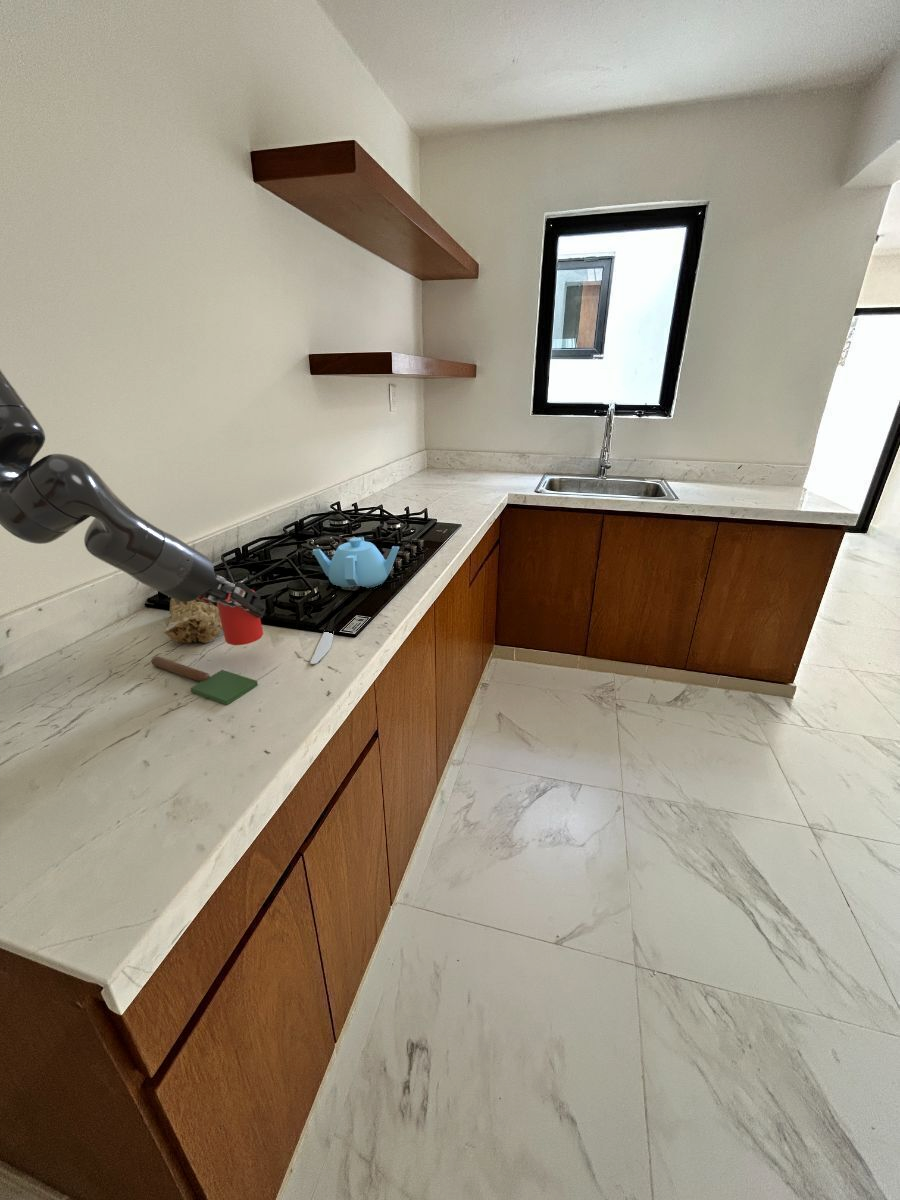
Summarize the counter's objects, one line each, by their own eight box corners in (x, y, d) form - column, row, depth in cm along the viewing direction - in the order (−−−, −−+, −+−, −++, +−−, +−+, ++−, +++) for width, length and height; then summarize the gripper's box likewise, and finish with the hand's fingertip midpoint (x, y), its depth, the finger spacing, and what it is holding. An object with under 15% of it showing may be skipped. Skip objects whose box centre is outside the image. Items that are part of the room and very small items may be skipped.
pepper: (217, 640, 83) (205, 592, 79) (246, 626, 88) (236, 579, 84) (242, 648, 80) (232, 598, 77) (270, 632, 85) (261, 584, 82)
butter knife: (350, 598, 108) (336, 597, 108) (323, 663, 83) (305, 663, 83) (350, 600, 108) (336, 600, 108) (323, 666, 84) (305, 666, 84)
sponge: (229, 648, 92) (246, 588, 109) (210, 616, 88) (231, 558, 104) (159, 665, 92) (187, 603, 108) (136, 634, 87) (168, 573, 103)
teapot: (313, 583, 119) (307, 539, 114) (364, 567, 128) (360, 526, 124) (351, 600, 109) (346, 553, 104) (403, 581, 119) (400, 537, 114)
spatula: (138, 672, 83) (135, 664, 82) (171, 656, 88) (168, 648, 87) (226, 705, 74) (224, 696, 73) (258, 685, 79) (256, 676, 78)
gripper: (219, 546, 68) (289, 594, 82) (144, 537, 73) (223, 584, 88) (196, 596, 65) (273, 637, 80) (121, 583, 70) (206, 624, 85)
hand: (246, 609), depth 84 cm, fingers closed on pepper, 6 cm apart
